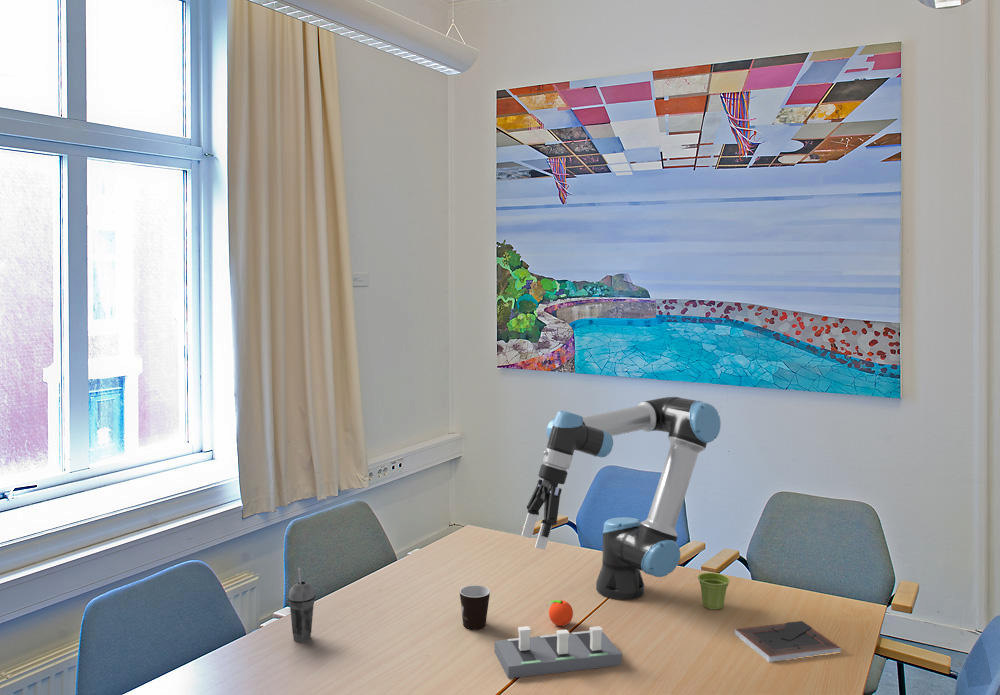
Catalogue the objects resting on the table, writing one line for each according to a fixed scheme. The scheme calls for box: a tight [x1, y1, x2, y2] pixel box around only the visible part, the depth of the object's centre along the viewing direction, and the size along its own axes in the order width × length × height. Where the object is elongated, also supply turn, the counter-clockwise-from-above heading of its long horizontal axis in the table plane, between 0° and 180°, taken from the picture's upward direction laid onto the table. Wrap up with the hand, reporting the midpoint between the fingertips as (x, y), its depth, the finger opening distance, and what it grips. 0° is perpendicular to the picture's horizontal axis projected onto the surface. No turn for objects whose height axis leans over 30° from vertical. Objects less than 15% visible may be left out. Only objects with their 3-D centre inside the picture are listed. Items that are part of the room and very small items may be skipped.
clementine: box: [547, 599, 574, 627], centre depth 221 cm, size 8×7×7 cm
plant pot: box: [697, 572, 731, 611], centre depth 236 cm, size 9×9×9 cm
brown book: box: [734, 620, 842, 663], centre depth 212 cm, size 16×2×22 cm
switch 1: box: [517, 625, 532, 651], centre depth 199 cm, size 3×2×6 cm
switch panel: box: [493, 630, 623, 679], centre depth 201 cm, size 30×14×3 cm, turn 105°
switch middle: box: [555, 629, 570, 655], centre depth 197 cm, size 3×2×6 cm
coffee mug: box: [459, 584, 491, 631], centre depth 221 cm, size 12×9×10 cm
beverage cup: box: [287, 567, 316, 643], centre depth 210 cm, size 7×7×20 cm
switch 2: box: [588, 625, 604, 651], centre depth 199 cm, size 3×2×6 cm
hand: (532, 542), depth 211 cm, fingers open, 13 cm apart
